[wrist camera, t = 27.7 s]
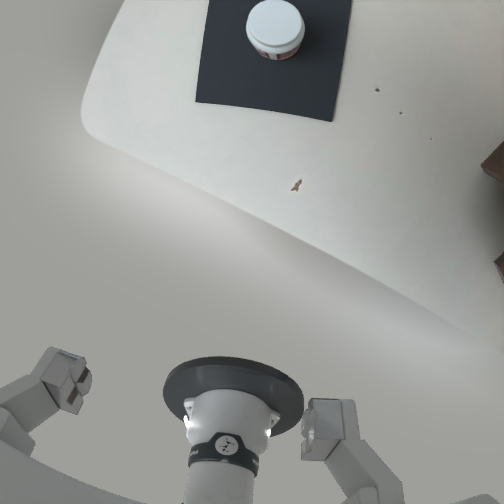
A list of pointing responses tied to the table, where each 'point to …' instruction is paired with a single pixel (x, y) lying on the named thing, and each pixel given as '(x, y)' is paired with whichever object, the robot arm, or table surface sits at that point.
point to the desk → (500, 167)
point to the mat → (273, 71)
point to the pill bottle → (275, 29)
